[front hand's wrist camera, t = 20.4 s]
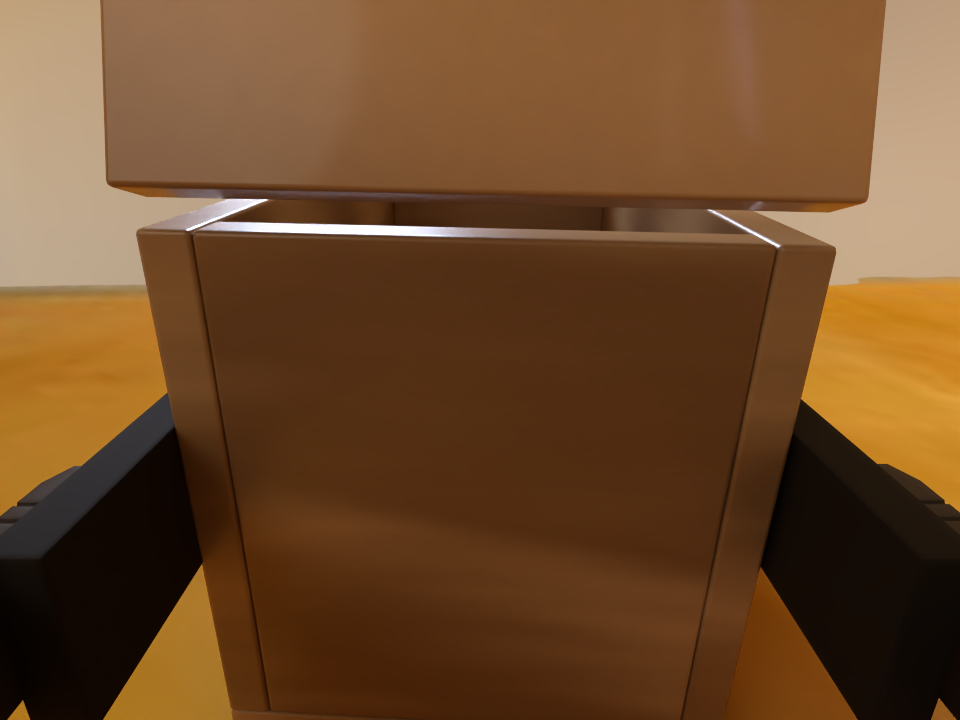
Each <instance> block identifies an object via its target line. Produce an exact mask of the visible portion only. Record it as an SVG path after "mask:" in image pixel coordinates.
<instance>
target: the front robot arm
mask: <svg viewBox="0 0 960 720" xmlns="http://www.w3.org/2000/svg"><path fill="white" fill-rule="evenodd" d="M944 501H945V500H944V499H942V498H941V497H940V496H939V495H937V494H936V493H935V492H934V491H932V490H931V489H930V488H929V487H927V486H926V485H925V484H924V483H922V482H921V481H920V480H918V479H916V478H914V477H912V476H910V475H908V474H906V473H904V472H902V471H900V470H898V469H896V468H894V467H892V466H890V465H888V464H876V463H875V462H874V461H873V460H872V459H871V458H869V457H868V456H867V455H866V454H865V453H864V452H862V451H861V450H860V449H859V448H858V447H857V446H855V445H854V444H853V443H852V442H851V441H849V440H848V439H847V438H846V437H845V436H844V435H842V434H841V433H840V432H839V431H838V430H837V429H835V428H834V427H833V426H832V425H831V424H830V423H828V422H827V421H826V420H825V419H824V418H823V417H821V416H820V415H819V414H818V413H817V412H815V411H814V410H813V409H812V408H811V407H810V406H808V405H807V404H806V403H805V402H804V401H803V400H800V405H799V409H798V413H797V417H796V421H795V425H794V429H793V433H792V438H791V442H790V446H789V450H788V454H787V458H786V462H785V467H784V471H783V475H782V479H781V483H780V487H779V491H778V495H777V500H776V504H775V508H774V512H773V516H772V520H771V524H770V529H769V533H768V537H767V541H766V545H765V549H764V553H763V557H762V562H761V568H762V569H763V571H764V572H765V574H766V576H767V577H768V579H769V580H770V582H771V583H772V585H773V587H774V588H775V590H776V591H777V593H778V594H779V596H780V598H781V599H782V601H783V602H784V604H785V606H786V607H787V609H788V610H789V612H790V613H791V615H792V617H793V618H794V620H795V621H796V623H797V624H798V626H799V628H800V629H801V631H802V632H803V634H804V635H805V637H806V639H807V640H808V642H809V643H810V645H811V646H812V648H813V650H814V651H815V653H816V654H817V656H818V657H819V659H820V661H821V662H822V664H823V665H824V667H825V669H826V670H827V672H828V673H829V675H830V676H831V678H832V680H833V681H834V683H835V684H836V686H837V687H838V689H839V691H840V692H841V694H842V695H843V697H844V698H845V700H846V702H847V703H848V705H849V706H850V708H851V709H852V711H853V713H854V714H855V716H856V717H857V719H858V720H931V718H932V715H933V712H934V709H935V707H936V704H937V701H938V698H940V699H941V701H942V702H943V703H944V704H945V706H946V707H947V708H948V709H949V711H950V712H951V713H952V714H953V716H954V717H955V718H956V719H957V720H960V512H958V511H957V510H956V509H955V508H953V507H952V506H951V505H950V504H945V502H944ZM202 563H203V561H202V556H201V552H200V547H199V542H198V538H197V533H196V528H195V524H194V519H193V514H192V510H191V505H190V500H189V496H188V491H187V486H186V481H185V476H184V471H183V466H182V461H181V456H180V451H179V446H178V441H177V436H176V431H175V426H174V421H173V416H172V411H171V406H170V401H169V396H168V393H167V394H165V395H164V396H163V397H162V398H161V399H160V400H158V401H157V402H156V403H155V404H154V405H153V406H151V407H150V408H149V409H148V410H147V411H145V412H144V413H143V414H142V415H141V416H140V417H138V418H137V419H136V420H135V421H134V422H133V423H131V424H130V425H129V426H128V427H127V428H126V429H124V430H123V431H122V432H121V433H120V434H119V435H117V436H116V437H115V438H114V439H113V440H112V441H110V442H109V443H108V444H107V445H106V446H104V447H103V448H102V449H101V450H100V451H99V452H97V453H96V454H95V455H94V456H93V457H92V458H90V459H89V460H88V461H87V462H86V463H85V464H83V465H82V466H74V467H72V468H70V469H68V470H66V471H64V472H62V473H60V474H58V475H56V476H54V477H52V478H50V479H48V480H46V481H44V482H42V483H41V484H39V485H38V486H37V487H36V488H35V489H33V490H32V491H31V492H30V493H28V494H27V495H26V496H25V497H23V498H22V499H21V500H20V501H19V502H17V506H12V507H11V508H10V509H9V510H8V511H6V512H5V513H4V514H3V515H1V516H0V720H7V719H8V718H9V717H10V715H11V714H12V713H13V712H14V710H15V709H16V708H17V707H18V705H19V704H20V703H21V702H22V700H23V701H24V704H25V706H26V709H27V712H28V715H29V717H30V720H103V719H104V717H105V716H106V714H107V712H108V711H109V709H110V708H111V706H112V705H113V703H114V701H115V700H116V698H117V697H118V695H119V694H120V692H121V690H122V689H123V687H124V686H125V684H126V683H127V681H128V679H129V678H130V676H131V675H132V673H133V671H134V670H135V668H136V667H137V665H138V664H139V662H140V660H141V659H142V657H143V656H144V654H145V653H146V651H147V649H148V648H149V646H150V645H151V643H152V642H153V640H154V638H155V637H156V635H157V634H158V632H159V631H160V629H161V627H162V626H163V624H164V623H165V621H166V620H167V618H168V616H169V615H170V613H171V612H172V610H173V608H174V607H175V605H176V604H177V602H178V601H179V599H180V597H181V596H182V594H183V593H184V591H185V590H186V588H187V586H188V585H189V583H190V582H191V580H192V579H193V577H194V575H195V574H196V572H197V571H198V569H199V568H200V566H201V564H202Z"/></svg>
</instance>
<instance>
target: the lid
mask: <svg viewBox="0 0 960 720" xmlns="http://www.w3.org/2000/svg"><path fill="white" fill-rule="evenodd" d="M100 2H101V33H102V64H103V96H104V126H105V158H106V181H107V184H108V185H109V186H111V187H114V188H117V189H121V190H125V191H128V192H131V193H135V194H138V195H142V196H146V197H178V198H223V199H265V200H309V201H352V202H396V203H440V204H483V205H527V206H571V207H614V208H658V209H702V210H745V211H789V212H833V211H836V210H840V209H844V208H848V207H851V206H855V205H859V204H862V203H865V202H866V201H867V199H868V194H869V183H870V173H871V161H872V150H873V139H874V128H875V117H876V106H877V95H878V84H879V72H880V61H881V50H882V39H883V28H884V17H885V6H886V0H100Z"/></svg>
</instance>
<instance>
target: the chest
mask: <svg viewBox="0 0 960 720" xmlns="http://www.w3.org/2000/svg"><path fill="white" fill-rule="evenodd" d="M136 236H137V241H138V246H139V251H140V256H141V261H142V265H143V271H144V276H145V280H146V286H147V291H148V296H149V301H150V306H151V311H152V316H153V321H154V326H155V331H156V336H157V341H158V346H159V351H160V356H161V361H162V366H163V371H164V376H165V381H166V386H167V391H168V396H169V401H170V406H171V411H172V416H173V421H174V426H175V431H176V436H177V441H178V446H179V451H180V456H181V461H182V466H183V471H184V476H185V481H186V486H187V491H188V496H189V500H190V505H191V510H192V514H193V519H194V524H195V528H196V533H197V538H198V542H199V547H200V552H201V556H202V561H203V563H202V566H203V571H204V576H205V581H206V586H207V591H208V596H209V601H210V606H211V611H212V616H213V621H214V626H215V631H216V636H217V641H218V646H219V651H220V656H221V661H222V666H223V671H224V676H225V681H226V686H227V691H228V696H229V701H230V706H231V708H232V717H233V720H723V719H724V715H725V710H726V706H727V702H728V698H729V694H730V690H731V686H732V681H733V677H734V673H735V669H736V665H737V661H738V657H739V653H740V648H741V644H742V640H743V636H744V632H745V628H746V624H747V619H748V615H749V611H750V607H751V603H752V599H753V595H754V591H755V586H756V582H757V578H758V574H759V570H760V566H761V562H762V557H763V553H764V549H765V545H766V541H767V537H768V533H769V529H770V524H771V520H772V516H773V512H774V508H775V504H776V500H777V495H778V491H779V487H780V483H781V479H782V475H783V471H784V467H785V462H786V458H787V454H788V450H789V446H790V442H791V438H792V433H793V429H794V425H795V421H796V417H797V413H798V409H799V405H800V400H801V396H802V392H803V388H804V384H805V380H806V376H807V371H808V367H809V363H810V359H811V355H812V351H813V347H814V343H815V338H816V334H817V330H818V326H819V322H820V318H821V314H822V309H823V305H824V301H825V297H826V293H827V289H828V285H829V280H830V276H831V272H832V268H833V264H834V260H835V256H836V249H835V247H834V246H831V245H829V244H827V243H825V242H822V241H820V240H818V239H816V238H813V237H811V236H809V235H806V234H804V233H802V232H800V231H797V230H795V229H793V228H790V227H788V226H786V225H783V224H781V223H779V222H777V221H774V220H772V219H770V218H768V217H765V216H763V215H761V214H758V213H756V212H754V211H745V210H702V209H658V208H614V207H571V206H527V205H483V204H440V203H396V202H352V201H309V200H265V199H227V200H224V201H221V202H218V203H215V204H212V205H209V206H206V207H203V208H200V209H197V210H194V211H191V212H188V213H185V214H182V215H179V216H176V217H173V218H170V219H167V220H164V221H161V222H158V223H155V224H152V225H149V226H146V227H143V228H141V229H138V230H137V234H136Z"/></svg>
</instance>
